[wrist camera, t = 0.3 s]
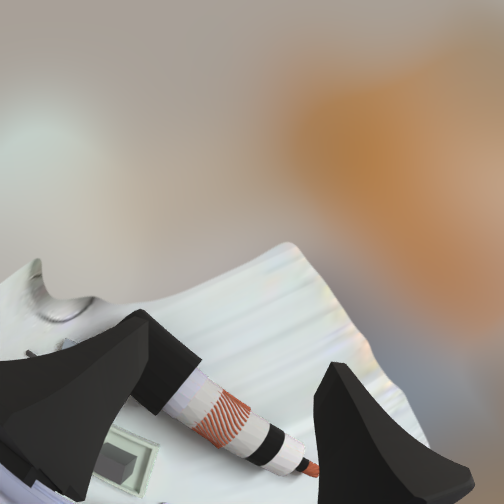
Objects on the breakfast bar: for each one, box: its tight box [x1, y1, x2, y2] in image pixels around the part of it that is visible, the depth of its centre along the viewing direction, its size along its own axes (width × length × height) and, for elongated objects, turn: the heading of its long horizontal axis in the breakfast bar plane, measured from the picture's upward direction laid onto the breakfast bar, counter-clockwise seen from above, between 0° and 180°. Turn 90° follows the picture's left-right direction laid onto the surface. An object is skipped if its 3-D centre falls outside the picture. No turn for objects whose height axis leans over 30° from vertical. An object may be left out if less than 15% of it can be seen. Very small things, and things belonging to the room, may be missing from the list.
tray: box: [92, 424, 160, 498], centre depth 28 cm, size 10×10×2 cm
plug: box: [93, 442, 138, 485], centre depth 25 cm, size 4×5×6 cm
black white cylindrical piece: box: [116, 309, 319, 478], centre depth 31 cm, size 10×34×10 cm, turn 52°
